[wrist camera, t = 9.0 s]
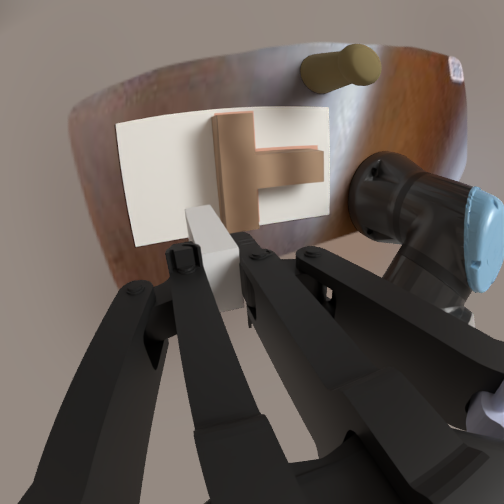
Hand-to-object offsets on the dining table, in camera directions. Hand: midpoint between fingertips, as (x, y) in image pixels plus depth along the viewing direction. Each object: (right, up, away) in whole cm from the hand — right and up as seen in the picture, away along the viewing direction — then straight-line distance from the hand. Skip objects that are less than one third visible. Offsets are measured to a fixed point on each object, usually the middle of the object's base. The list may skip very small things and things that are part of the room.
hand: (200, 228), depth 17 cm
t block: (+4, +10, +20) cm, 23 cm away
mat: (+1, +9, +20) cm, 22 cm away
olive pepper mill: (+12, +23, +17) cm, 31 cm away
